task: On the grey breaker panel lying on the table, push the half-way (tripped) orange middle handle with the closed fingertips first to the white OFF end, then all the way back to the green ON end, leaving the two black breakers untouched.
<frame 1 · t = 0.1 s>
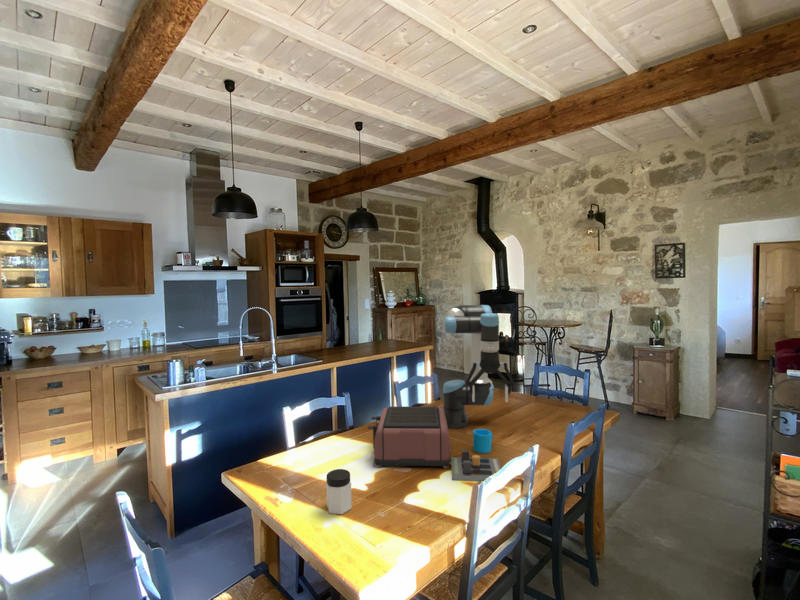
hand: (489, 401, 169), 28 cm above the table, fingers open, 13 cm apart
breaker 2: (476, 461, 167), point 4 cm above the table, slide at 0.0 cm
panel: (476, 471, 167), on the table
toaster: (409, 453, 185), on the table
breaker 1: (465, 455, 172), point 4 cm above the table, slide at -4.0 cm
breaker 3: (467, 466, 162), point 4 cm above the table, slide at -4.0 cm
mug: (484, 448, 189), on the table
jar: (339, 508, 142), on the table
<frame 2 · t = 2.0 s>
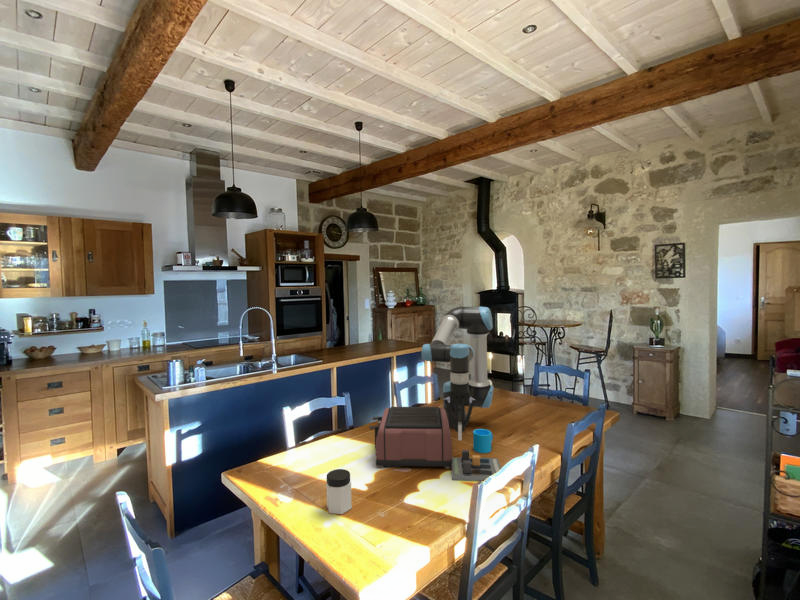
hand: (459, 438, 166), 14 cm above the table, fingers closed
nothing on the table moved.
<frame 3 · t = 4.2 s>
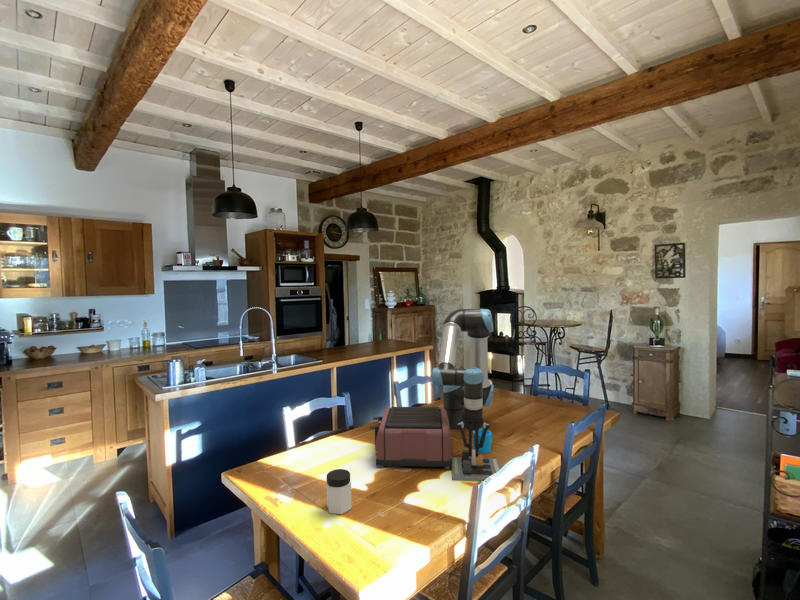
hand: (473, 463, 167), 3 cm above the table, fingers closed
breaker 2: (479, 461, 166), point 4 cm above the table, slide at 1.2 cm, touching gripper
everything else where it was.
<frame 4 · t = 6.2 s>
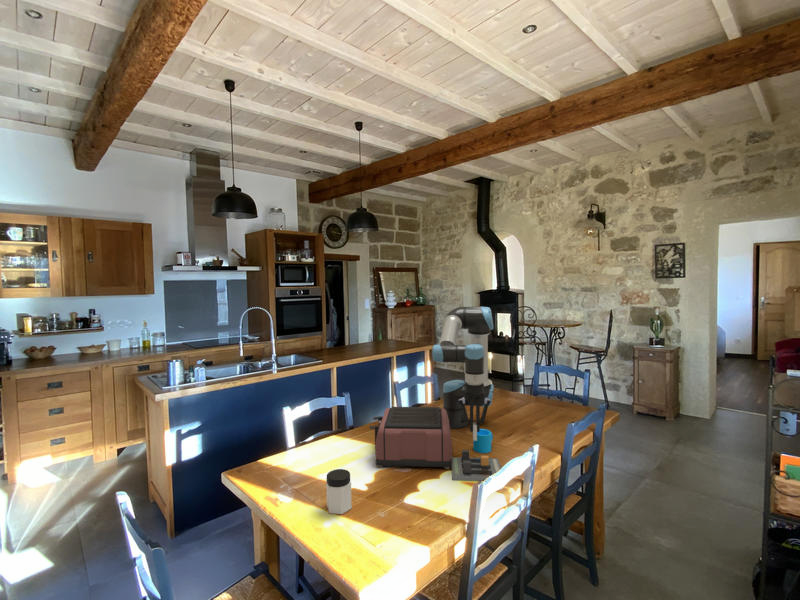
hand: (474, 439, 166), 13 cm above the table, fingers closed
breaker 2: (484, 461, 166), point 4 cm above the table, slide at 3.5 cm
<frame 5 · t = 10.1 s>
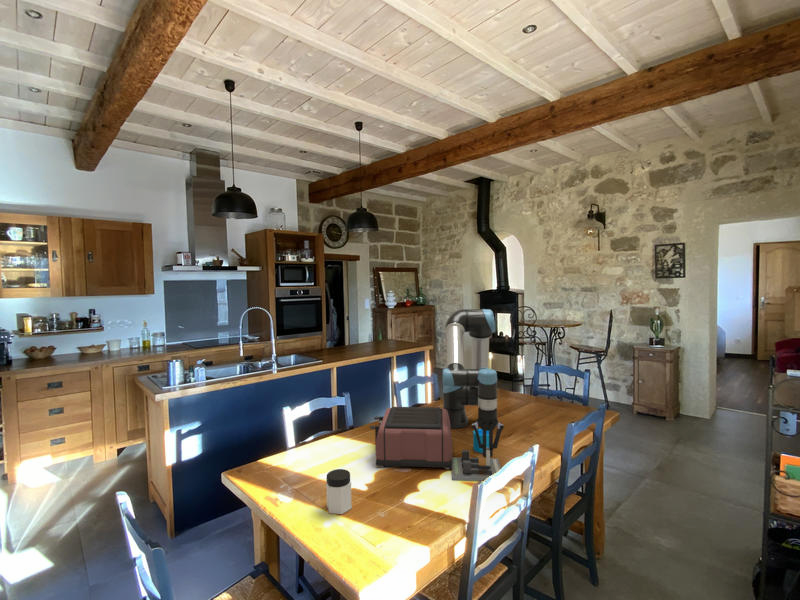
hand: (487, 464, 166), 3 cm above the table, fingers closed
breaker 2: (482, 461, 166), point 4 cm above the table, slide at 2.5 cm, touching gripper
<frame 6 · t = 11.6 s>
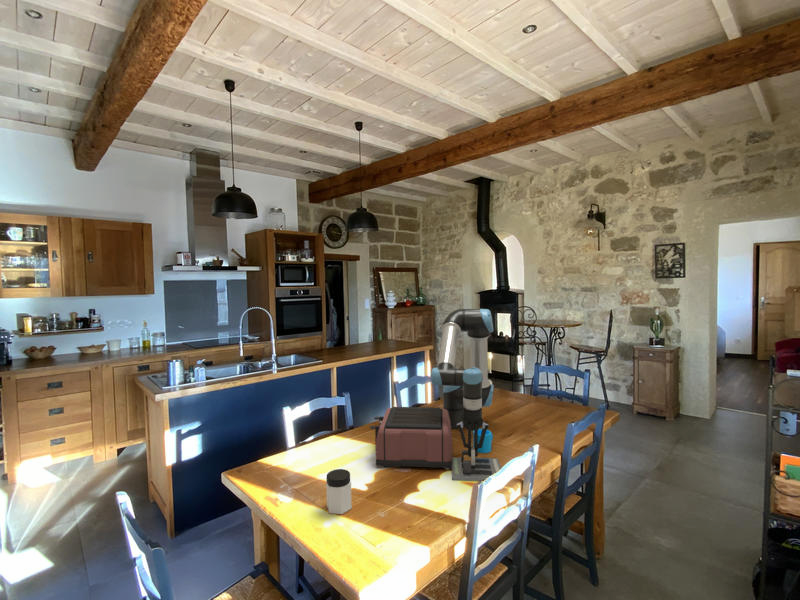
hand: (472, 463, 167), 3 cm above the table, fingers closed
breaker 2: (467, 460, 167), point 4 cm above the table, slide at -3.5 cm, touching gripper
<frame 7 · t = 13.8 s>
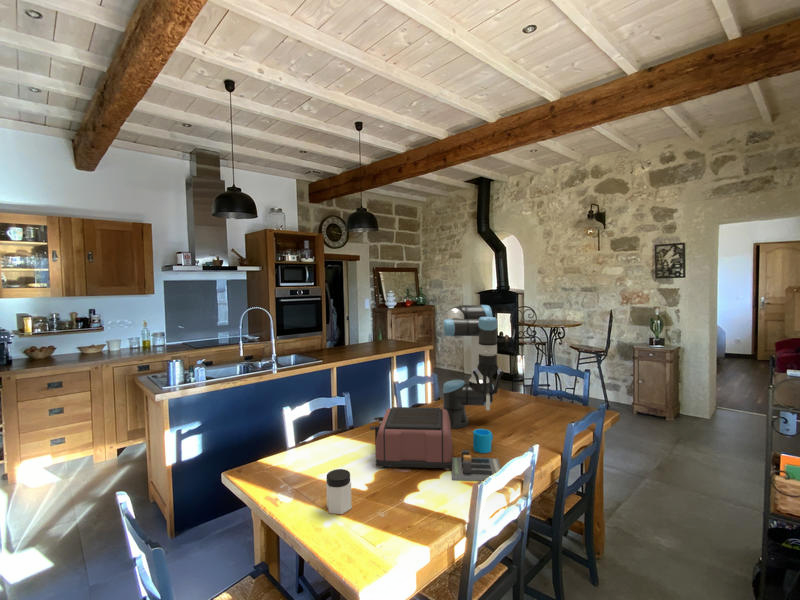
hand: (487, 409, 171), 24 cm above the table, fingers closed
breaker 2: (467, 460, 167), point 4 cm above the table, slide at -3.6 cm
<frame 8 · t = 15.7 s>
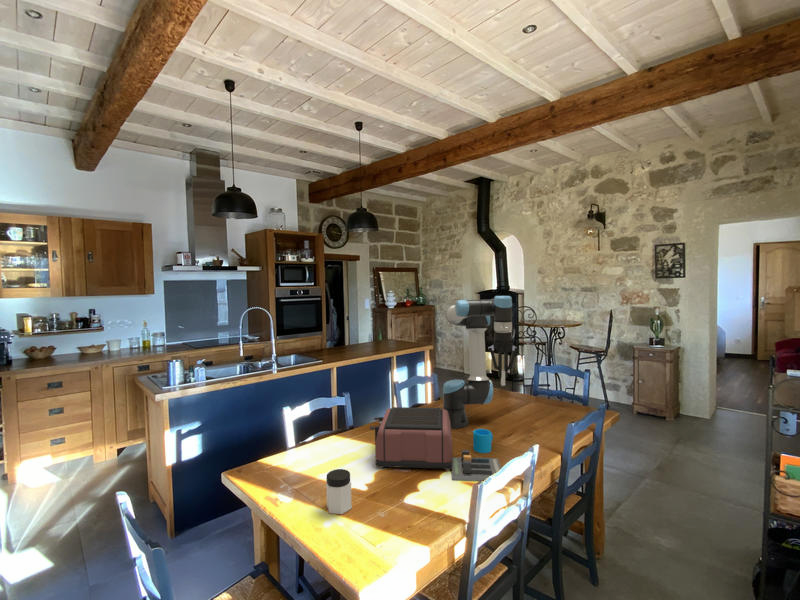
hand: (502, 384, 178), 32 cm above the table, fingers closed
at the end: breaker 2 slide at -3.6 cm; breaker 1 slide at -4.0 cm; breaker 3 slide at -4.0 cm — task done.
